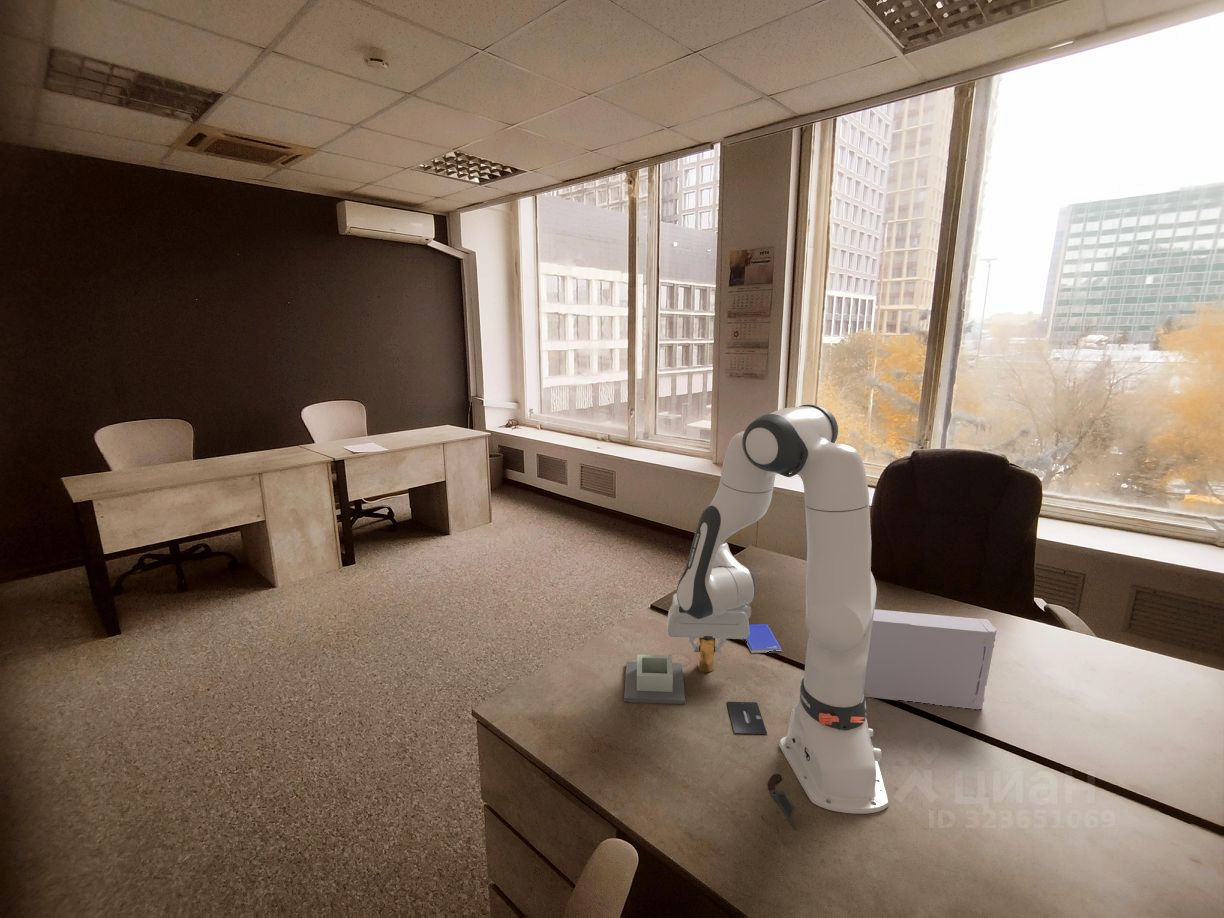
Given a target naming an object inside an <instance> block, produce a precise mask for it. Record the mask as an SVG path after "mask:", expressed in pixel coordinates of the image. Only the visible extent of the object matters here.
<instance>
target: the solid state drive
mask: <svg viewBox="0 0 1224 918" xmlns="http://www.w3.org/2000/svg"><path fill="white" fill-rule="evenodd" d="M726 707H727V710H728V713H729V719H730V723H731V726H732V731H733V734H734V735H748V736H749V735H753V736H759V735H760V736H767V735H768V732H767V730H766V726H765V725H766V724H765V723H764V720H763V717H762V714H761V710H760V707H759V704H758V702H756V701H753V702H752V701H726Z"/></svg>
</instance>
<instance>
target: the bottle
mask: <svg viewBox="0 0 1224 918" xmlns="http://www.w3.org/2000/svg"><path fill="white" fill-rule="evenodd" d="M698 643H699V652H698V657H697V658H698V660H697V661H698V663H697V668H698V669H699V671H701V672H703V673H711V672H713V671H714V670H715V658H716V657H715V655H716V653H715V643H716V638H713V637H712V636H704V637H703V638H698Z"/></svg>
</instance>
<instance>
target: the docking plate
mask: <svg viewBox="0 0 1224 918" xmlns="http://www.w3.org/2000/svg"><path fill="white" fill-rule="evenodd" d="M636 658H637V659H636V660H637V661H626V666H625V680H624V681H625V682H624V684H625V685H624V702H625V703H642V704H643V703H645V704H647V703H648V704H672V705H673V704H674V705H675V704H676V705H686V694H685V684H684V676H683V674H684V673H683V664H682V663H681V662H680V663H679V662H678V663H675V662H673V658H672V655H661V654H659V655H658V654H657V655H656V654H655V655H654V654H637V656H636Z"/></svg>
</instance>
